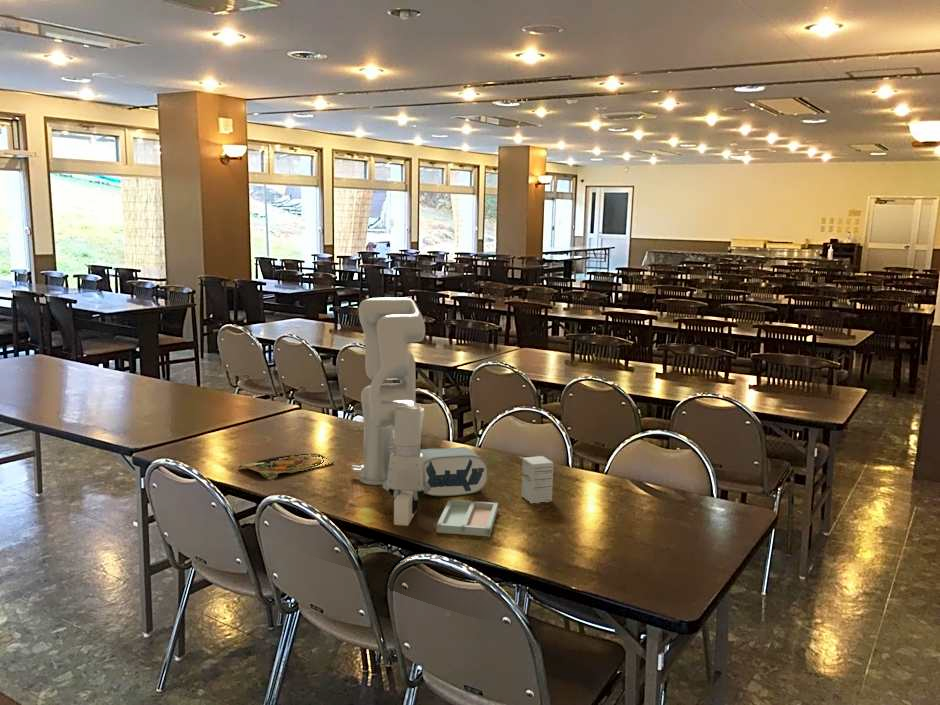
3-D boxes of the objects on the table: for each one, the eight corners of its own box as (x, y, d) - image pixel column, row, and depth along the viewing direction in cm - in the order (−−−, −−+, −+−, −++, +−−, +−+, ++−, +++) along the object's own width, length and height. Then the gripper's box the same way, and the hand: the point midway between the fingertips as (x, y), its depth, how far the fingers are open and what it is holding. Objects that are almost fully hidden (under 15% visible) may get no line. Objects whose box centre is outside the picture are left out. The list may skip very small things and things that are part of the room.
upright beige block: (393, 524, 222) (394, 500, 220) (404, 507, 235) (405, 484, 234) (407, 525, 221) (408, 501, 220) (418, 508, 235) (418, 485, 234)
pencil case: (418, 499, 241) (418, 458, 240) (406, 482, 260) (406, 444, 258) (488, 494, 247) (488, 454, 246) (471, 478, 265) (472, 440, 264)
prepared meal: (306, 444, 287) (336, 454, 274) (306, 454, 287) (337, 464, 275) (236, 463, 267) (266, 474, 254) (237, 473, 267) (266, 484, 255)
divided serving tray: (436, 532, 217) (436, 524, 216) (448, 506, 237) (449, 499, 236) (489, 536, 215) (490, 528, 214) (497, 510, 235) (498, 502, 234)
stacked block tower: (520, 496, 247) (521, 457, 245) (542, 494, 249) (543, 455, 247) (530, 504, 240) (532, 464, 238) (552, 502, 243) (554, 462, 241)
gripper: (374, 451, 222) (374, 514, 225) (433, 455, 220) (432, 518, 223) (381, 444, 230) (381, 504, 233) (438, 447, 227) (437, 509, 230)
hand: (406, 510), depth 228 cm, fingers closed on upright beige block, 4 cm apart
